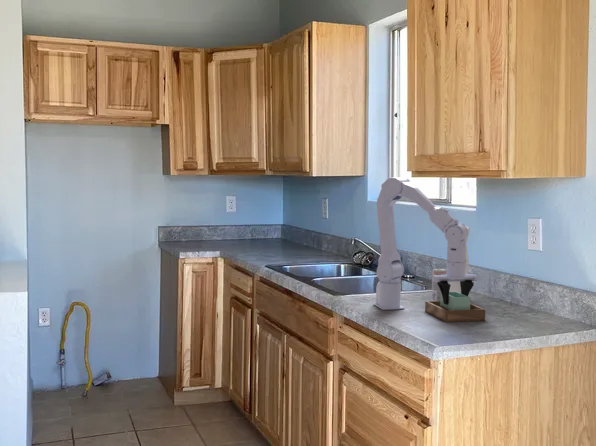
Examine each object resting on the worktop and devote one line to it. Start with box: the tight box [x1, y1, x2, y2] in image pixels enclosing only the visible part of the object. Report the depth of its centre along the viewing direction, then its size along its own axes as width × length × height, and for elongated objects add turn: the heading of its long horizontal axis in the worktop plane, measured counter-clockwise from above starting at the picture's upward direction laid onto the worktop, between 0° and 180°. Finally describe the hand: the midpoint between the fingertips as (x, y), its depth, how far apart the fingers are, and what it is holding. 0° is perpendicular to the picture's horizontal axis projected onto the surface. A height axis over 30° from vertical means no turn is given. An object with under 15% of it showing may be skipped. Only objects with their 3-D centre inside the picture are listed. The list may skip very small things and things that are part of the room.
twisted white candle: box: [448, 226, 470, 293], centre depth 249 cm, size 8×8×28 cm
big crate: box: [424, 300, 486, 323], centre depth 221 cm, size 15×13×4 cm
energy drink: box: [430, 267, 447, 301], centre depth 241 cm, size 5×5×12 cm
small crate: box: [440, 291, 471, 310], centre depth 220 cm, size 10×6×4 cm, turn 13°
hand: (454, 303), depth 221 cm, fingers closed on small crate, 5 cm apart
